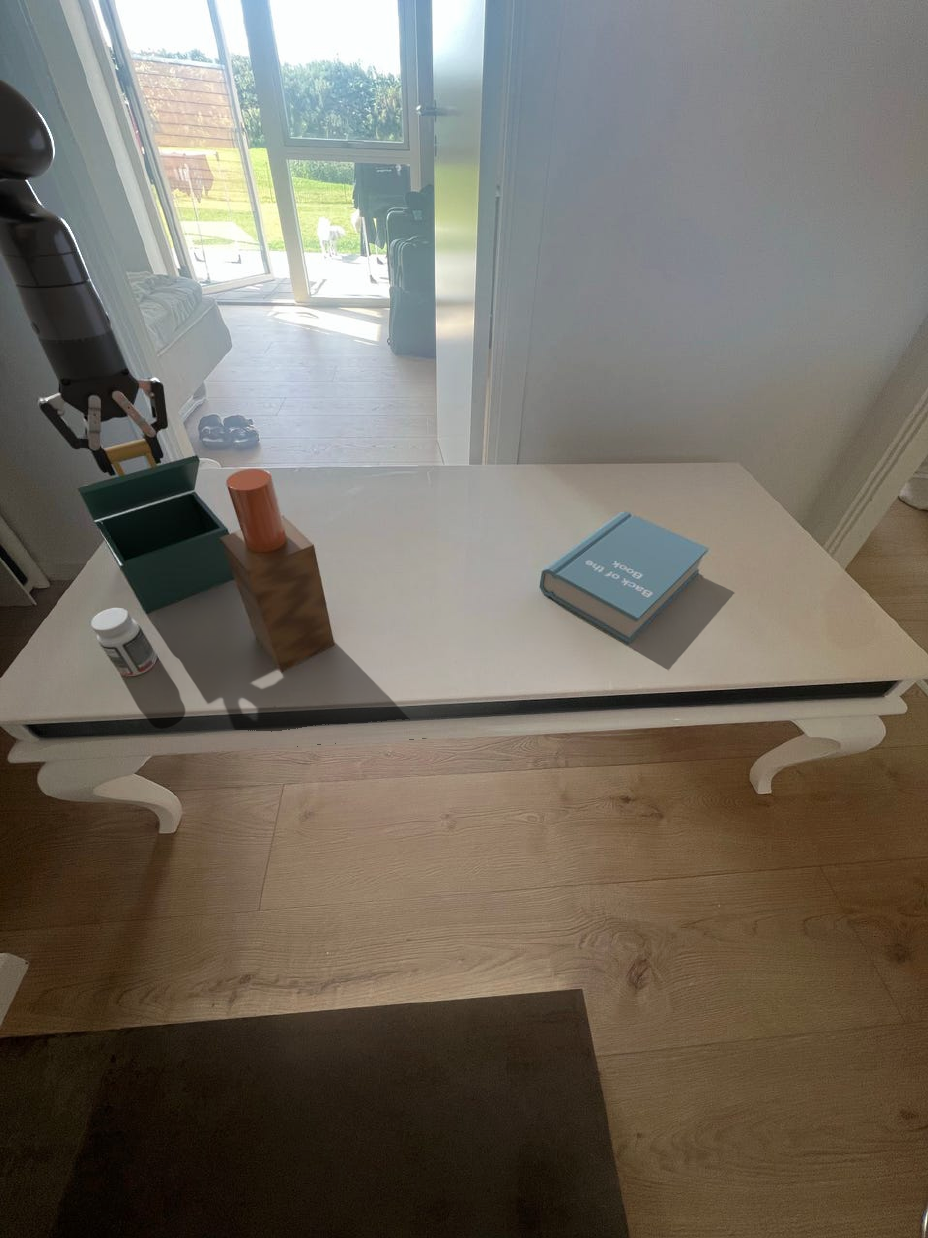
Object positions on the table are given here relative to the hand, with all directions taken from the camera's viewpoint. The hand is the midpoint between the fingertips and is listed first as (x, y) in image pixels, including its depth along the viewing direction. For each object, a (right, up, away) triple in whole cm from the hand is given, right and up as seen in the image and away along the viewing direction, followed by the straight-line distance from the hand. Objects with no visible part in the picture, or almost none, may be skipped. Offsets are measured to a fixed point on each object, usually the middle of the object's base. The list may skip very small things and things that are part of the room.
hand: (134, 466), depth 71 cm
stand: (+21, -24, +2) cm, 32 cm away
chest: (0, -13, +12) cm, 18 cm away
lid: (-1, -3, +3) cm, 4 cm away
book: (+70, -15, +14) cm, 73 cm away
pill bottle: (+2, -27, -2) cm, 27 cm away
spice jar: (+22, -11, -10) cm, 26 cm away
